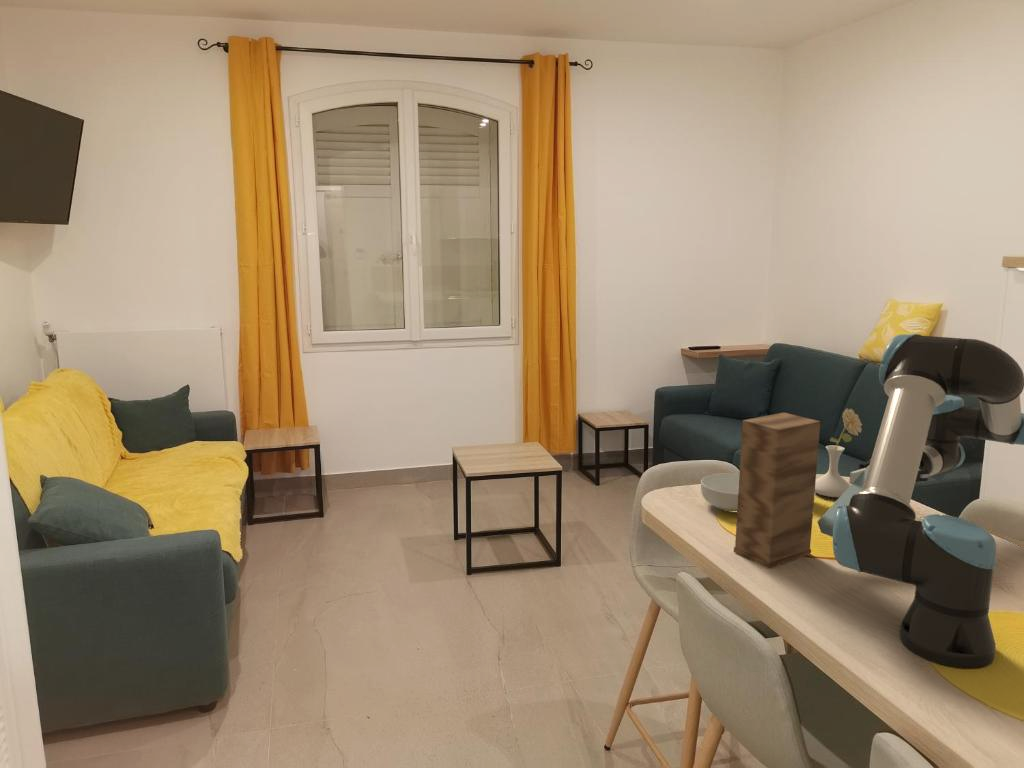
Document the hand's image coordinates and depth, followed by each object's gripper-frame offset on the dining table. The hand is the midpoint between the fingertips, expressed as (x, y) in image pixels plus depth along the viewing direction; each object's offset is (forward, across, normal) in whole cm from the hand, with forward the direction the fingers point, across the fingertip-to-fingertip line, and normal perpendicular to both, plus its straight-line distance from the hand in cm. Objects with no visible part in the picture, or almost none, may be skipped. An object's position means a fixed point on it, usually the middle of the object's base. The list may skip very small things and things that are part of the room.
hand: (859, 480), depth 177 cm
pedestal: (+17, +10, -17) cm, 26 cm away
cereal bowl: (+2, +36, -18) cm, 40 cm away
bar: (0, 0, -5) cm, 5 cm away
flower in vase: (-31, +28, -18) cm, 45 cm away
